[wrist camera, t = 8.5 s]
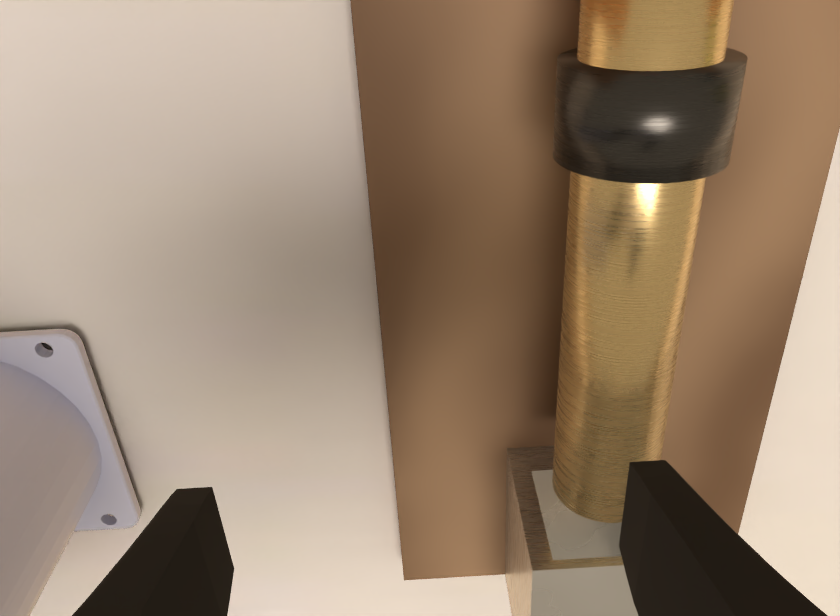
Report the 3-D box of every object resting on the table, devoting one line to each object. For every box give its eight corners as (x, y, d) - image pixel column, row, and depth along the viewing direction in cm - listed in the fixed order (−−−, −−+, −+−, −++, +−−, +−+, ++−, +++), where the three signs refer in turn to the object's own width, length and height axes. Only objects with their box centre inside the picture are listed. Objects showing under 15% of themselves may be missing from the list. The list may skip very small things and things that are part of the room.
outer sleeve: (505, 573, 25) (526, 704, 21) (506, 448, 22) (532, 571, 18) (630, 566, 25) (676, 694, 21) (649, 439, 22) (707, 560, 18)
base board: (403, 558, 26) (404, 580, 25) (313, -446, 13) (307, -472, 12) (720, 539, 26) (731, 560, 25) (958, -483, 13) (999, -511, 12)
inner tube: (528, 445, 21) (551, 538, 18) (550, -204, 13) (599, -240, 10) (646, 438, 21) (690, 530, 18) (740, -215, 13) (848, -255, 10)
